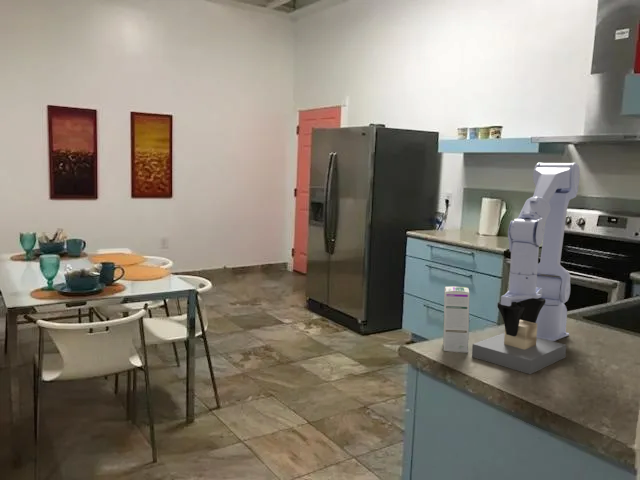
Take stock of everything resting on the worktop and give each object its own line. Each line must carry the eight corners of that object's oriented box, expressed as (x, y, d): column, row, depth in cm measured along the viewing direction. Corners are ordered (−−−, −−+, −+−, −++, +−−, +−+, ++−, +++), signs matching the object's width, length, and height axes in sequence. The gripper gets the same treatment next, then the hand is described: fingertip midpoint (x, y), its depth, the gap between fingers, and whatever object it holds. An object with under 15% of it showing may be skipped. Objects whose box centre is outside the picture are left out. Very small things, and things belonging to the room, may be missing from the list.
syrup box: (468, 353, 128) (471, 291, 126) (442, 351, 129) (444, 290, 127) (467, 345, 133) (469, 286, 132) (442, 343, 135) (444, 285, 133)
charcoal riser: (509, 342, 136) (509, 330, 136) (565, 357, 126) (566, 344, 125) (471, 356, 125) (472, 344, 125) (530, 374, 115) (530, 360, 115)
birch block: (515, 339, 128) (517, 318, 128) (536, 345, 125) (537, 323, 124) (504, 344, 125) (505, 322, 125) (524, 349, 122) (525, 327, 121)
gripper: (523, 279, 115) (520, 342, 117) (556, 271, 125) (552, 329, 127) (493, 274, 121) (490, 334, 122) (527, 267, 130) (523, 323, 132)
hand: (520, 331), depth 125 cm, fingers open, 7 cm apart
